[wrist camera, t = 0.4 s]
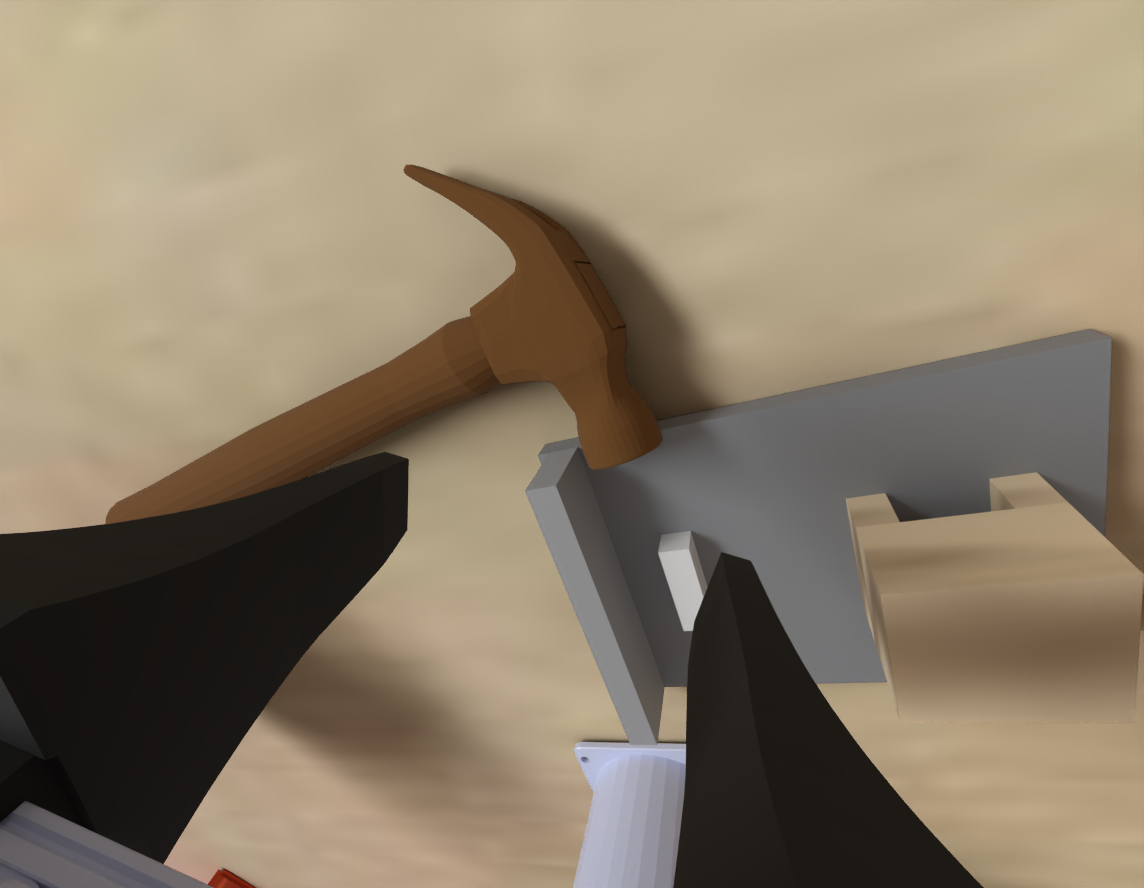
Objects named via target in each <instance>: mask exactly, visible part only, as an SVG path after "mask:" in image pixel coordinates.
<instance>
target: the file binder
mask: <svg viewBox="0 0 1144 888" xmlns="http://www.w3.org/2000/svg"><path fill="white" fill-rule="evenodd" d="M208 885H209V886H211V887H214V888H255V887H253V886H251V885H249V884H248V883H246V882H244V881H243V880H241V879H239V878H238V877H236V876H234V875H233V874H231V873H229V872H228V871H226V870H223V872H221V871H220V870H218V871H217V872H216V874H215V875H214V876H213V878H212V879H211V881H210V882H209V883H208Z"/></svg>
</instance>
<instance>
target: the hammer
mask: <svg viewBox="0 0 1144 888" xmlns="http://www.w3.org/2000/svg"><path fill="white" fill-rule="evenodd" d="M404 173H405V174H406V175H407V176H409V177H411V178H412V179H414V180H415V181H417V182H419V183H420V184H422V185H424V186H426V187H428V188H430V189H431V190H433V191H435V192H437V193H439V194H441V195H442V196H444V197H446V198H447V199H449V200H451V201H452V202H454V203H455V204H457V205H458V206H460V207H461V208H463V209H464V210H466V211H467V212H469V213H470V214H471V215H473V216H474V217H475V218H477V219H478V220H479V221H481V222H482V223H483V224H485V225H486V226H487V227H488V228H489V229H491V230H492V231H493V232H494V233H495V234H497V235H498V236H499V237H500V238H501V239H502V240H503V241H504V242H505V243H506V244H507V246H508V247H509V249H510V250H511V252H512V254H513V256H514V258H515V260H516V267H515V272H514V273H513V274H512V275H511V276H510V277H509V278H508V279H507V280H506V281H505V282H503V283H502V284H501V285H500V286H499V287H498V288H496V289H495V290H494V291H493V292H491V293H490V294H489V295H487V296H486V297H485V298H483V299H482V300H481V301H479V302H478V303H477V304H475V305H474V306H473V307H471V308H470V313H471V316H469V317H466V318H462V319H458V320H455V321H452V322H450V323H447V324H446V325H444V326H443V327H442V328H440V329H439V330H437V331H436V332H435V333H433V334H432V335H430V336H429V337H428V338H426V339H425V340H423V341H422V342H420V343H419V344H417V345H415V346H414V347H412V348H411V349H409V350H407V351H406V352H404V353H403V354H401V355H399V356H398V357H396V358H395V359H393V360H392V361H390V362H388V363H387V364H385V365H382V366H380V367H378V368H376V369H374V370H372V371H370V372H368V373H366V374H364V375H362V376H360V377H358V378H356V379H354V380H351V381H349V382H347V383H345V384H343V385H341V386H339V387H337V388H335V389H333V390H331V391H329V392H327V393H325V394H323V395H320V396H318V397H316V398H314V399H312V400H310V401H308V402H306V403H304V404H302V405H300V406H298V407H296V408H294V409H292V410H289V411H287V412H285V413H283V414H281V415H279V416H277V417H275V418H273V419H271V420H269V421H267V422H265V423H263V424H261V425H258V426H256V427H254V428H252V429H250V430H249V431H247V432H245V433H243V434H242V435H240V436H238V437H236V438H234V439H233V440H231V441H229V442H227V443H226V444H224V445H222V446H220V447H218V448H217V449H215V450H213V451H211V452H210V453H208V454H206V455H204V456H203V457H201V458H199V459H197V460H195V461H194V462H192V463H190V464H188V465H187V466H185V467H183V468H181V469H179V470H178V471H176V472H174V473H172V474H171V475H169V476H167V477H165V478H164V479H162V480H160V481H158V482H156V483H155V484H153V485H151V486H149V487H147V488H145V489H143V490H141V491H139V492H137V493H135V494H133V495H131V496H129V497H127V498H125V499H123V500H121V501H119V502H117V503H116V504H115V505H114V506H113V507H112V508H111V509H110V510H109V512H108V514H107V516H106V524H111V523H118V522H125V521H130V520H136V519H142V518H148V517H154V516H160V515H166V514H172V513H177V512H182V511H187V510H192V509H196V508H201V507H205V506H209V505H214V504H218V503H222V502H226V501H230V500H234V499H238V498H241V497H245V496H249V495H252V494H255V493H259V492H262V491H265V490H268V489H272V488H275V487H278V486H282V485H285V484H288V483H292V482H295V481H298V480H301V479H302V478H304V477H306V476H308V475H310V474H312V473H314V472H316V471H318V470H320V469H322V468H324V467H325V466H327V465H329V464H331V463H333V462H335V461H337V460H339V459H341V458H343V457H345V456H347V455H348V454H350V453H352V452H354V451H356V450H358V449H360V448H362V447H364V446H366V445H368V444H370V443H372V442H373V441H375V440H377V439H379V438H381V437H383V436H385V435H387V434H389V433H391V432H393V431H395V430H396V429H398V428H400V427H402V426H404V425H406V424H408V423H410V422H412V421H414V420H416V419H418V418H420V417H422V416H424V415H427V414H430V413H432V412H435V411H437V410H440V409H442V408H445V407H447V406H450V405H453V404H455V403H458V402H460V401H463V400H466V399H469V398H473V397H476V396H479V395H482V394H485V393H487V392H488V391H489V390H491V389H492V388H493V387H495V386H496V385H497V384H498V383H501V384H508V383H517V382H526V381H547V382H551V383H552V384H553V385H555V386H556V388H557V389H558V390H559V392H560V393H561V395H562V396H563V397H564V399H565V400H566V402H567V403H568V405H569V406H570V407H571V409H572V410H573V411H574V412H575V415H576V419H577V428H578V435H579V441H580V444H581V447H582V450H583V453H584V456H585V458H586V461H587V463H588V466H589V467H590V468H591V469H593V470H602V469H607V468H611V467H615V466H618V465H621V464H624V463H627V462H630V461H632V460H635V459H637V458H639V457H641V456H643V455H645V454H647V453H649V452H651V451H653V450H654V449H656V448H657V447H658V446H659V445H660V444H661V443H662V441H663V437H662V434H661V431H660V429H659V426H658V423H657V421H656V419H655V417H654V414H653V412H652V411H651V409H650V408H649V406H648V405H647V403H646V402H645V401H644V400H643V398H642V397H641V396H640V395H639V394H638V393H637V392H636V391H635V389H634V388H633V387H632V385H631V383H630V382H629V380H628V376H627V373H626V368H625V353H626V347H627V338H626V327H625V323H624V321H623V319H622V317H621V316H620V314H619V312H618V310H617V308H616V307H615V305H614V303H613V301H612V299H611V297H610V295H609V294H608V292H607V290H606V288H605V287H604V285H603V283H602V282H601V280H600V278H599V276H598V275H597V273H596V271H595V270H594V268H593V266H592V265H591V263H590V261H589V260H588V258H587V256H586V255H585V253H584V252H583V250H582V249H581V247H580V246H579V245H578V243H577V242H576V241H575V240H574V238H573V237H572V236H571V235H570V233H569V232H568V231H567V230H566V229H565V228H563V227H562V226H561V225H560V224H558V223H557V222H555V221H554V220H552V219H551V218H550V217H548V216H547V215H545V214H544V213H542V212H540V211H539V210H537V209H535V208H533V207H531V206H529V205H527V204H525V203H523V202H521V201H517V200H514V199H510V198H507V197H504V196H502V195H499V194H496V193H493V192H490V191H487V190H484V189H481V188H478V187H475V186H472V185H470V184H467V183H465V182H462V181H459V180H457V179H454V178H451V177H448V176H446V175H443V174H440V173H437V172H434V171H431V170H429V169H426V168H423V167H419V166H415V165H406V166H405V167H404Z"/></svg>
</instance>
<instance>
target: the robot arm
mask: <svg viewBox="0 0 1144 888" xmlns="http://www.w3.org/2000/svg"><path fill="white" fill-rule="evenodd" d="M408 466H409V459H407V458H404V457H400V456H397V455H393V454H390V453H387V452H383V453H379V454H375V455H372V456H369V457H365V458H362V459H359V460H356V461H353V462H350V463H348V464H345V465H342V466H339V467H336V468H333V469H330V470H327V471H324V472H321V473H318V474H315V475H313V476H310V477H307V478H304V479H301V480H298V481H295V482H292V483H288V484H285V485H282V486H278V487H275V488H272V489H268V490H265V491H262V492H259V493H255V494H252V495H249V496H245V497H241V498H238V499H234V500H230V501H226V502H222V503H218V504H214V505H209V506H205V507H201V508H196V509H192V510H187V511H182V512H177V513H172V514H166V515H160V516H154V517H148V518H142V519H136V520H130V521H125V522H118V523H111V524H104V525H96V526H88V527H80V528H70V529H60V530H51V531H40V532H28V533H13V534H0V888H214V887H211V886H209V885H207V884H205V883H203V882H201V881H198V880H196V879H194V878H192V877H190V876H188V875H185V874H183V873H181V872H179V871H177V870H175V869H172V868H170V867H168V866H166V865H164V862H165V861H166V859H167V857H168V855H169V854H170V852H171V850H172V849H173V847H174V845H175V844H176V842H177V841H178V839H179V837H180V836H181V834H182V832H183V831H184V829H185V828H186V826H187V824H188V823H189V821H190V820H191V818H192V816H193V815H194V813H195V811H196V810H197V808H198V807H199V805H200V803H201V802H202V800H203V799H204V797H205V795H206V794H207V792H208V790H209V789H210V787H211V786H212V784H213V783H214V781H215V780H216V778H217V777H218V775H219V774H220V772H221V771H222V769H223V768H224V766H225V765H226V763H227V762H228V760H229V759H230V757H231V756H232V754H233V753H234V751H235V750H236V748H237V747H238V745H239V744H240V742H241V740H242V739H243V737H244V736H245V735H246V733H247V732H248V730H249V729H250V728H251V726H252V725H253V723H254V722H255V720H256V719H257V718H258V716H259V715H260V713H261V712H262V710H263V709H264V708H265V706H266V705H267V703H268V702H269V700H270V699H271V698H272V696H273V695H274V693H275V692H276V691H277V689H278V688H279V687H280V685H281V684H282V683H283V681H284V680H285V679H286V677H287V676H288V675H289V673H290V672H291V670H292V669H293V668H294V666H295V665H296V664H297V662H298V661H299V660H300V658H301V657H302V656H303V654H304V653H305V652H306V651H307V650H308V649H309V647H310V646H311V645H312V644H313V643H314V641H315V640H316V639H317V638H318V637H319V636H320V634H321V633H322V632H323V631H324V630H325V629H326V628H327V627H328V626H329V625H330V623H331V622H332V621H333V620H334V619H335V618H336V617H337V616H338V615H339V614H340V612H341V611H342V610H343V609H344V608H345V607H346V606H347V605H348V604H349V603H350V601H351V600H352V599H353V598H354V597H355V596H356V595H357V594H358V593H359V592H360V591H361V589H362V588H363V587H364V586H365V585H366V584H367V583H368V582H369V580H370V579H371V578H372V577H373V576H374V575H375V574H376V573H377V571H378V570H379V569H380V568H381V567H382V566H383V565H384V563H385V562H386V560H387V559H388V558H389V556H390V555H391V553H392V552H393V550H394V549H395V548H396V546H397V544H398V543H399V541H400V540H401V538H402V537H403V535H404V534H405V532H406V531H407V518H408ZM574 753H575V755H576V757H577V759H578V761H579V763H580V765H581V768H582V770H583V772H584V774H585V776H586V778H587V780H588V782H589V784H590V787H591V789H592V791H593V793H594V794H593V799H592V803H591V808H590V812H589V817H588V821H587V826H586V830H585V835H584V840H583V844H582V849H581V853H580V858H579V862H578V867H577V871H576V876H575V880H574V885H573V888H984V887H982V886H981V885H980V884H979V883H978V882H977V881H976V880H975V879H974V877H973V876H972V875H971V874H970V873H969V872H968V871H967V870H966V869H965V868H964V867H963V866H962V865H961V864H960V863H959V862H958V861H957V859H956V858H955V857H954V856H953V855H952V854H951V853H950V852H949V851H948V850H947V849H946V848H945V846H944V845H943V844H942V843H941V842H940V841H939V840H938V839H937V838H936V837H935V836H934V835H933V834H932V832H931V831H930V830H929V829H928V828H927V827H926V826H925V825H924V824H923V822H922V821H921V820H920V819H919V818H918V817H917V816H916V814H915V813H914V812H913V811H912V810H911V809H910V808H909V806H908V805H907V804H906V803H905V802H904V801H903V800H902V798H901V797H900V796H899V795H898V794H897V792H896V791H895V790H894V789H893V787H892V786H891V785H890V784H889V783H888V781H887V780H886V779H885V778H884V776H883V775H882V774H881V773H880V772H879V770H878V769H877V768H876V767H875V765H874V764H873V763H872V762H871V761H870V759H869V758H868V757H867V755H866V754H865V753H864V752H863V750H862V749H861V748H860V746H859V745H858V744H857V742H856V741H855V740H854V738H853V737H852V736H851V734H850V733H849V731H848V730H847V729H846V727H845V726H844V724H843V723H842V722H841V720H840V719H839V717H838V716H837V715H836V713H835V712H834V710H833V709H832V708H831V706H830V705H829V703H828V702H827V700H826V699H825V697H824V696H823V694H822V693H821V691H820V690H819V688H818V687H817V685H816V683H815V682H814V680H813V678H812V677H811V675H810V673H809V672H808V670H807V669H806V667H805V665H804V664H803V662H802V660H801V658H800V657H799V655H798V653H797V651H796V650H795V648H794V646H793V644H792V642H791V640H790V638H789V637H788V635H787V633H786V631H785V629H784V627H783V625H782V624H781V622H780V620H779V618H778V616H777V614H776V612H775V610H774V608H773V606H772V604H771V602H770V599H769V597H768V595H767V593H766V591H765V589H764V587H763V585H762V583H761V580H760V578H759V576H758V574H757V572H756V570H755V568H754V566H753V564H752V562H751V561H750V560H747V559H743V558H740V557H737V556H733V555H730V554H727V553H723V552H721V554H720V557H719V559H718V562H717V564H716V567H715V569H714V572H713V575H712V577H711V580H710V582H709V585H708V587H707V590H706V592H705V595H704V598H703V600H702V603H701V605H700V608H699V610H698V613H697V615H696V618H695V621H694V626H693V633H692V639H691V646H690V654H689V661H688V677H687V721H686V744H671V743H657V745H630V743H617V742H578V743H577V744H576V745H575V749H574Z"/></svg>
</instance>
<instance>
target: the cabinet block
mask: <svg viewBox="0 0 1144 888" xmlns="http://www.w3.org/2000/svg"><path fill="white" fill-rule="evenodd" d="M989 482H990V500H991V512H983V513H974V514H966V515H957V516H949V517H941V518H932V519H924V520H915V521H907V522H899V520H898V518H897V516H896V514H895V512H894V510H893V508H892V506H891V504H890V502H889V500H888V498H887V496H886V494H885V493H883V494H875V495H868V496H861V497H854V498H846V504H847V510H848V516H849V522H850V528H851V534H852V540H853V546H854V552H855V558H856V563H857V569H858V575H859V581H860V587H861V593H862V599H863V605H864V609H865V612H866V616H867V619H868V622H869V625H870V628H871V632H872V635H873V638H874V641H875V644H876V647H877V651H878V654H879V657H880V660H881V663H882V666H883V670H884V673H885V676H886V679H887V682H888V685H889V689H890V692H891V695H892V698H893V701H894V704H895V708H896V711H897V714H898V717H899V720H900V722H995V723H1134V715H1135V700H1136V685H1137V670H1138V655H1139V640H1140V630H1144V595H1143V581H1144V574H1143V573H1142V572H1141V571H1140V570H1139V569H1138V568H1137V567H1136V566H1135V565H1133V564H1132V563H1131V562H1130V561H1129V560H1128V559H1127V558H1126V557H1125V556H1124V555H1123V554H1122V553H1121V552H1120V551H1119V550H1118V549H1117V548H1116V547H1115V546H1114V545H1113V544H1111V543H1110V542H1109V541H1108V540H1107V539H1106V538H1105V537H1104V536H1103V535H1102V534H1101V533H1100V532H1099V531H1098V530H1097V529H1096V528H1095V527H1094V526H1093V525H1092V524H1090V523H1089V522H1088V521H1087V520H1086V519H1085V518H1084V517H1083V516H1082V515H1081V514H1080V513H1079V512H1078V511H1077V510H1076V509H1075V508H1074V507H1073V506H1072V505H1071V504H1069V503H1068V502H1067V501H1066V500H1065V499H1064V498H1063V497H1062V496H1061V495H1060V494H1059V493H1058V492H1057V491H1056V490H1055V489H1054V488H1053V487H1052V486H1051V485H1050V484H1048V483H1047V482H1046V481H1045V480H1044V479H1043V478H1042V477H1041V476H1040V475H1039V474H1038V473H1037V472H1035V473H1028V474H1020V475H1013V476H1006V477H999V478H991V479H989Z"/></svg>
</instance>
